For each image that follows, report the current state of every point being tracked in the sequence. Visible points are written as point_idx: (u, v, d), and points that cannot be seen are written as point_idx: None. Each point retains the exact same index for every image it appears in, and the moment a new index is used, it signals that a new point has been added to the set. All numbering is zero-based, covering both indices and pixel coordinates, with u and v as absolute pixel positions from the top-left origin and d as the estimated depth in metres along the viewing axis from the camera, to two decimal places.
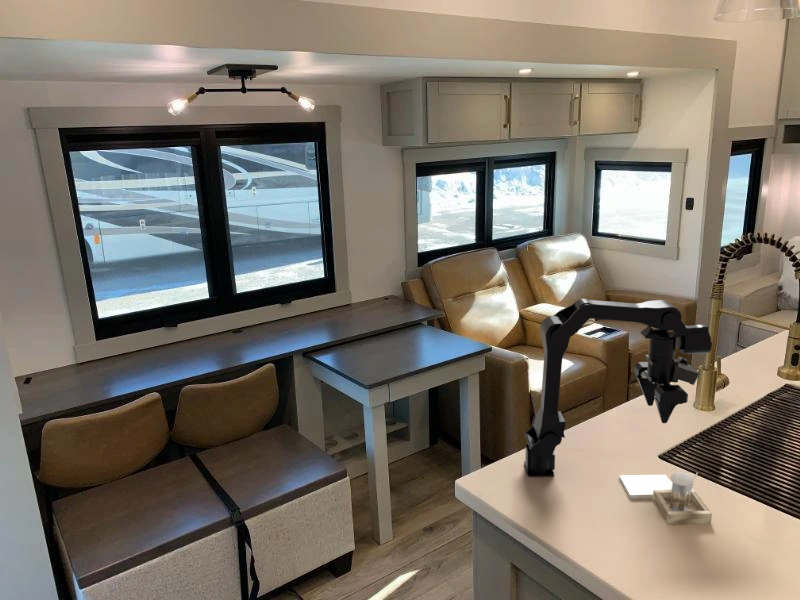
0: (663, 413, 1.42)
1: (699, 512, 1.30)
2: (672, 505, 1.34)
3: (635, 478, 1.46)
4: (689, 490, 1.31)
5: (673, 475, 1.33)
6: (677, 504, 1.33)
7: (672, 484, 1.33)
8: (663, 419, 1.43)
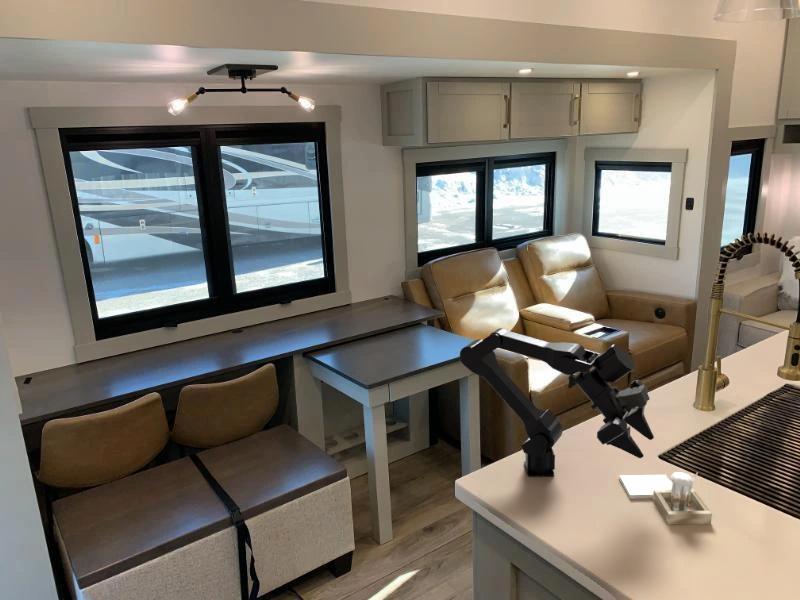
0: (628, 449, 1.32)
1: (699, 512, 1.30)
2: (672, 505, 1.34)
3: (635, 478, 1.46)
4: (689, 490, 1.31)
5: (673, 475, 1.33)
6: (677, 504, 1.33)
7: (672, 484, 1.33)
8: (636, 454, 1.32)
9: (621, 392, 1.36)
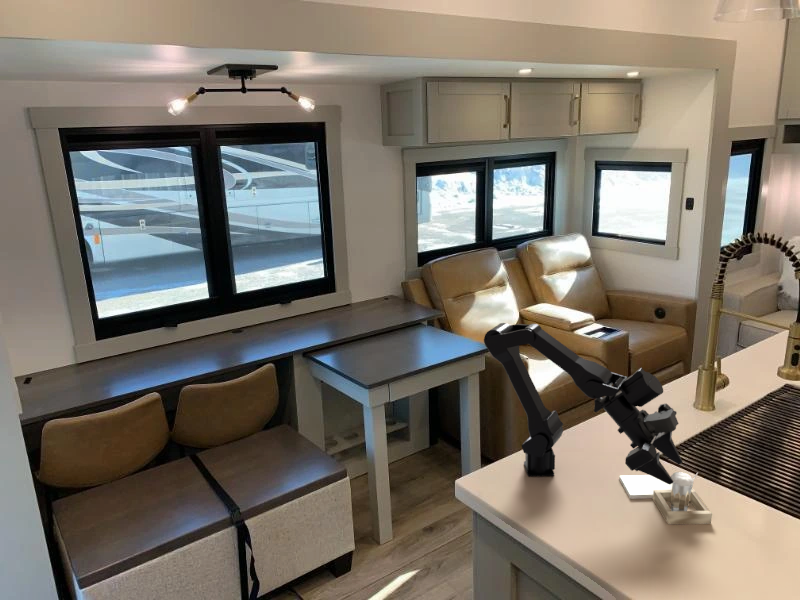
0: (657, 475, 1.30)
1: (699, 512, 1.30)
2: (672, 505, 1.34)
3: (635, 478, 1.46)
4: (689, 490, 1.31)
5: (673, 475, 1.33)
6: (677, 504, 1.33)
7: (672, 484, 1.32)
8: (665, 480, 1.30)
9: (649, 416, 1.34)
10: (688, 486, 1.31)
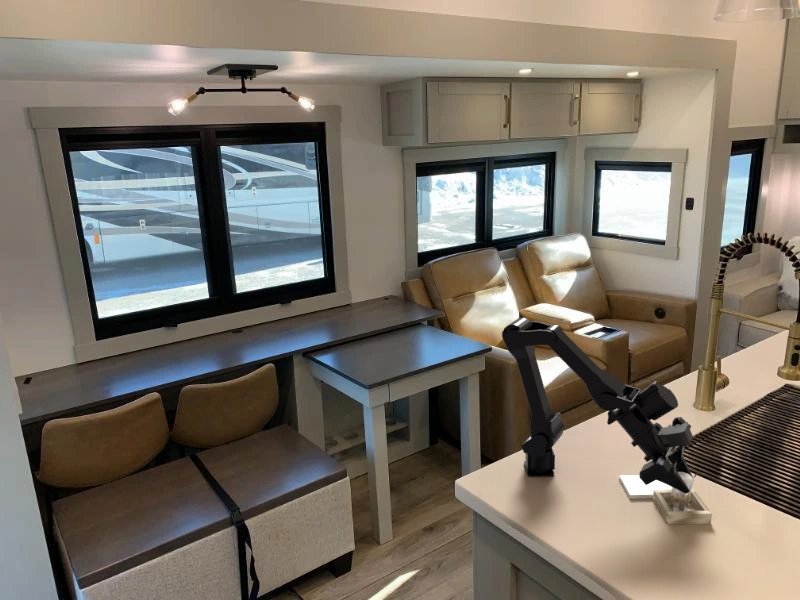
0: (674, 484, 1.30)
1: (699, 512, 1.30)
2: (672, 505, 1.34)
3: (635, 478, 1.46)
4: (690, 490, 1.31)
5: None
6: (677, 503, 1.33)
7: None
8: (682, 490, 1.30)
9: (663, 430, 1.33)
10: (688, 485, 1.31)
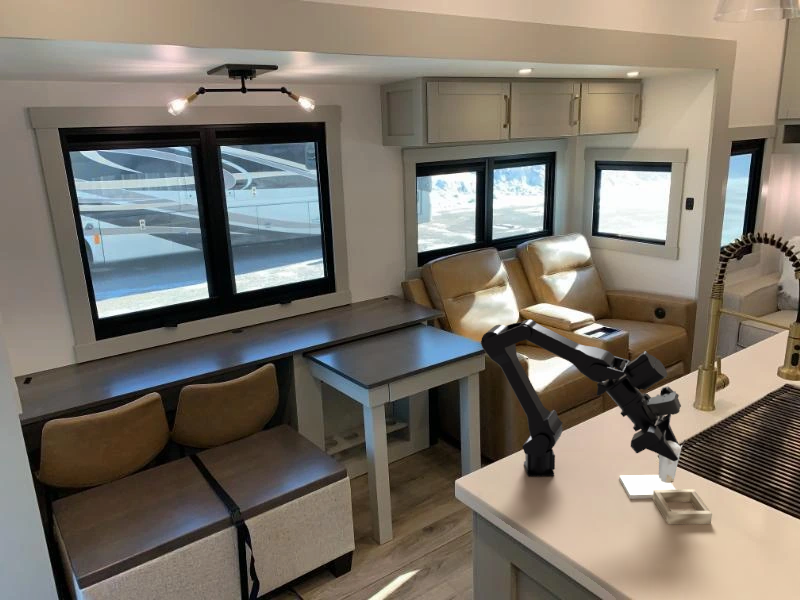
0: (663, 453, 1.32)
1: (699, 512, 1.30)
2: (660, 473, 1.36)
3: (635, 478, 1.46)
4: None
5: None
6: (665, 471, 1.35)
7: None
8: (670, 458, 1.32)
9: (652, 399, 1.34)
10: (676, 453, 1.33)
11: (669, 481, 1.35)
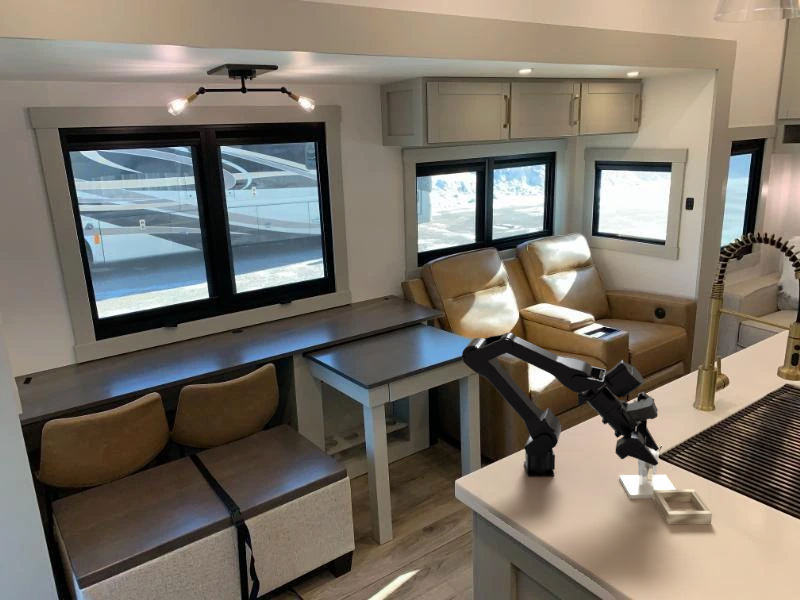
0: (644, 458, 1.37)
1: (699, 512, 1.30)
2: (640, 479, 1.42)
3: (635, 478, 1.46)
4: None
5: None
6: (645, 477, 1.41)
7: None
8: (651, 462, 1.38)
9: (631, 405, 1.40)
10: None
11: (649, 486, 1.42)
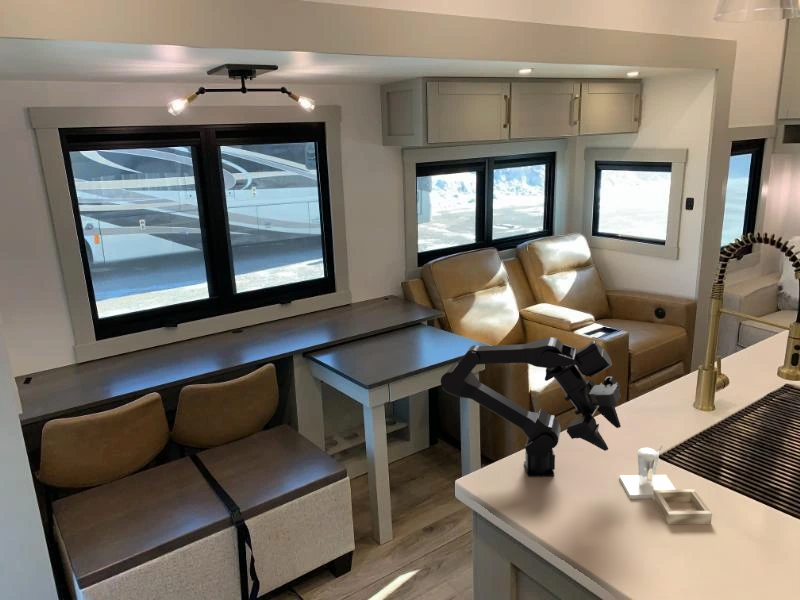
0: (594, 443, 1.41)
1: (699, 512, 1.30)
2: (640, 479, 1.42)
3: (635, 478, 1.46)
4: (656, 463, 1.40)
5: (640, 451, 1.41)
6: (645, 478, 1.41)
7: (640, 459, 1.41)
8: (601, 447, 1.41)
9: (595, 388, 1.42)
10: (655, 460, 1.39)
11: (649, 486, 1.42)
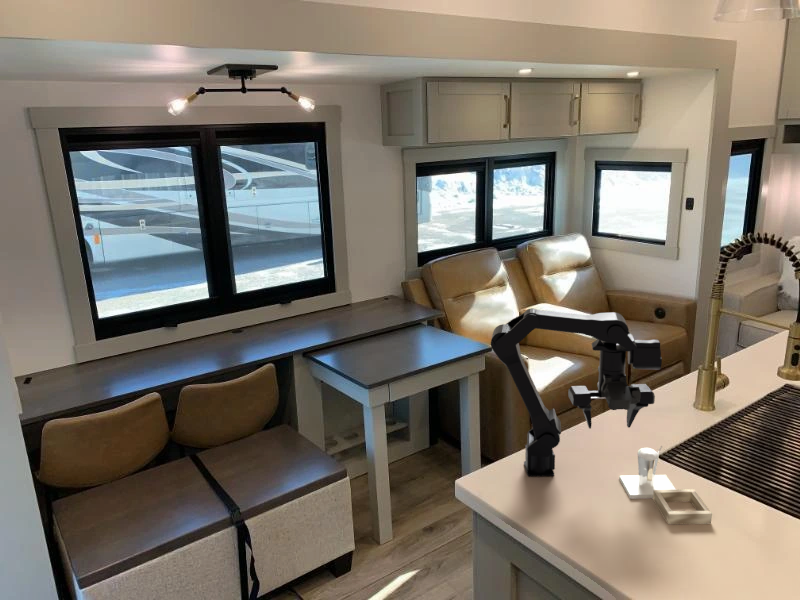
0: None
1: (699, 512, 1.30)
2: (640, 479, 1.42)
3: (635, 478, 1.46)
4: (656, 464, 1.40)
5: (640, 451, 1.41)
6: (645, 478, 1.41)
7: (640, 459, 1.41)
8: (587, 422, 1.46)
9: (618, 384, 1.39)
10: (655, 460, 1.39)
11: (649, 486, 1.42)
